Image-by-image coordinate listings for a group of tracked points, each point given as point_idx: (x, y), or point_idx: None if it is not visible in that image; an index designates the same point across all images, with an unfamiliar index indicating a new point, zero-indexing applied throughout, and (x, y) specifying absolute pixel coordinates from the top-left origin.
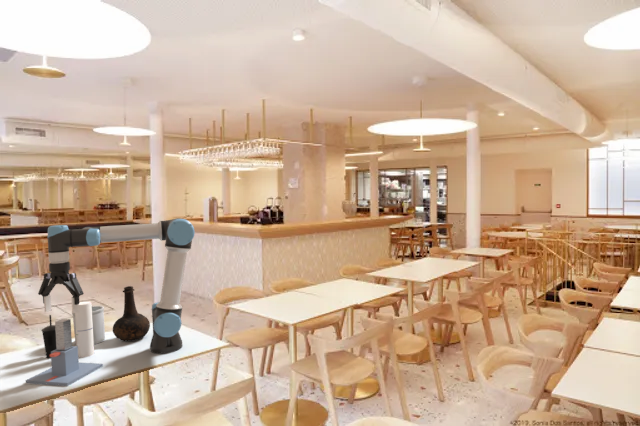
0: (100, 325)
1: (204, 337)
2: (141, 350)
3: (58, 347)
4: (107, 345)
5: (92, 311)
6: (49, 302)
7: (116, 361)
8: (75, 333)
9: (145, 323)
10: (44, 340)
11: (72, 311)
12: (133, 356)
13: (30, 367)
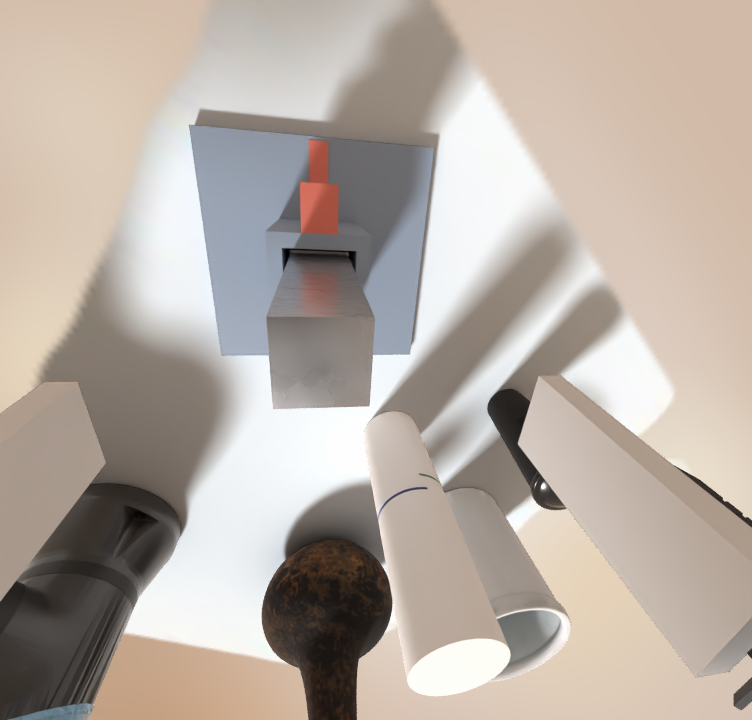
0: None
1: None
2: (202, 495)
3: (336, 261)
4: (372, 507)
5: None
6: (599, 515)
7: (209, 399)
8: (501, 524)
9: (263, 628)
10: None
11: (55, 396)
12: (181, 448)
13: (521, 307)
